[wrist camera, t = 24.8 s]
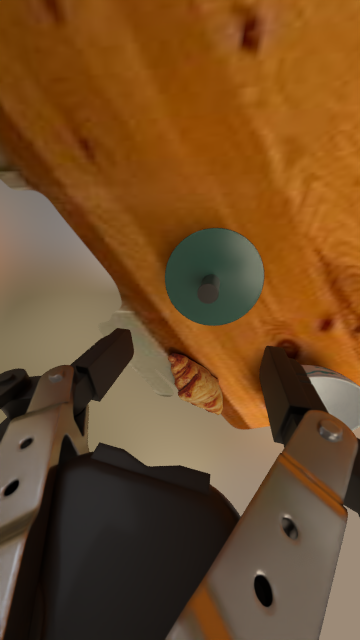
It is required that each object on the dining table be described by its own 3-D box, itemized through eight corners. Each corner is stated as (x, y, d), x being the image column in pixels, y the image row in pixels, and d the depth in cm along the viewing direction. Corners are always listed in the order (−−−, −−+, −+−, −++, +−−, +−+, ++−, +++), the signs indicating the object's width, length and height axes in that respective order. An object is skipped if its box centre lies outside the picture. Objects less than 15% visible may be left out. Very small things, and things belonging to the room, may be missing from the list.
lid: (204, 203, 21) (197, 193, 15) (286, 272, 22) (305, 285, 17) (151, 287, 27) (134, 300, 22) (216, 337, 28) (214, 360, 23)
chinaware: (360, 382, 33) (394, 420, 27) (289, 410, 41) (301, 445, 34) (310, 333, 31) (333, 361, 25) (245, 372, 39) (249, 401, 32)
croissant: (229, 392, 47) (245, 413, 39) (201, 415, 47) (211, 441, 39) (183, 336, 42) (191, 348, 34) (151, 362, 42) (151, 380, 34)
